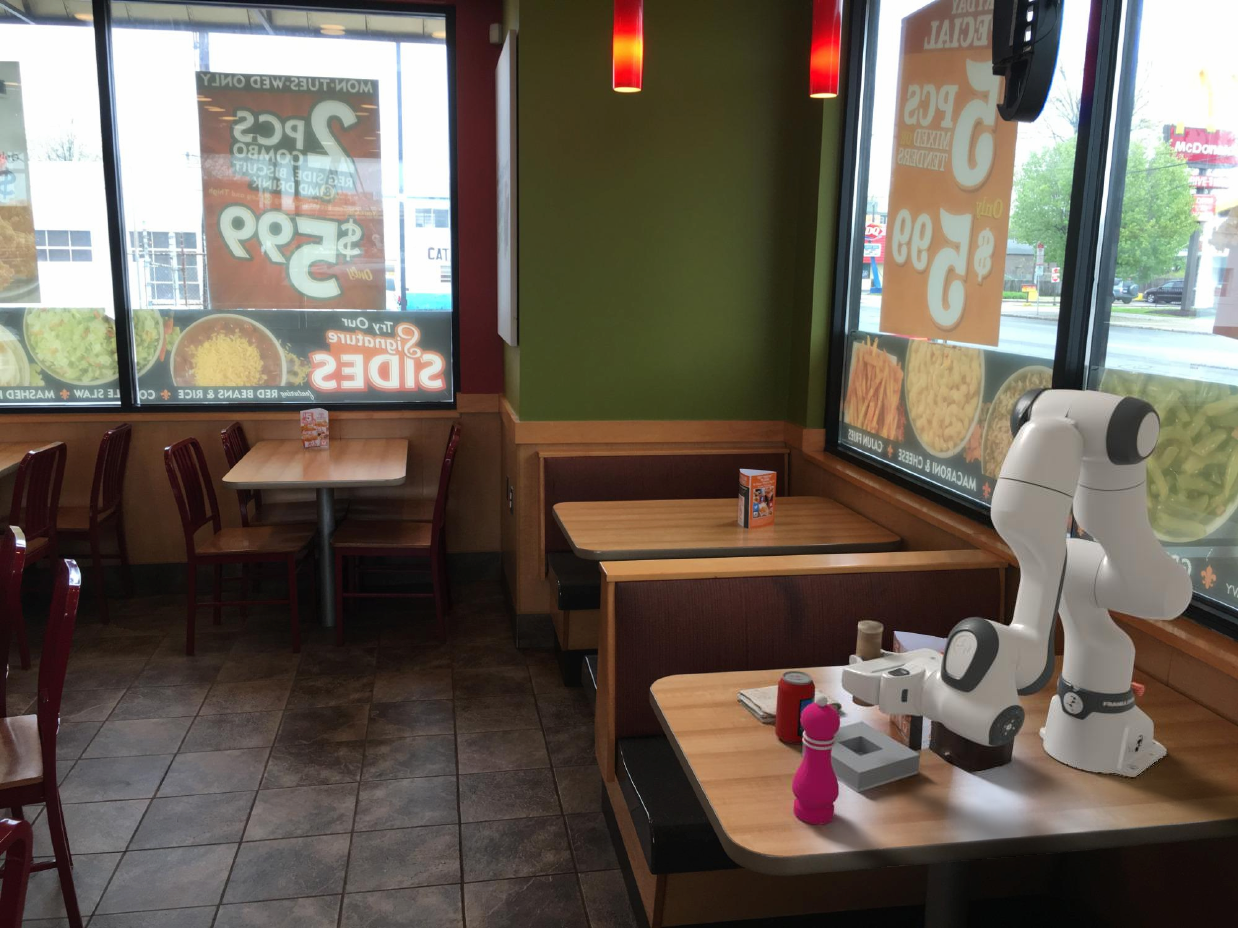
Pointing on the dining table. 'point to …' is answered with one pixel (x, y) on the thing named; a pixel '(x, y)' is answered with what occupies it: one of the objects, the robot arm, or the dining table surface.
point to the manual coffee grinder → (968, 750)
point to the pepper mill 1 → (817, 764)
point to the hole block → (869, 757)
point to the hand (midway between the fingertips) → (864, 656)
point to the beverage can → (793, 705)
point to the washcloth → (770, 702)
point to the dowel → (868, 647)
